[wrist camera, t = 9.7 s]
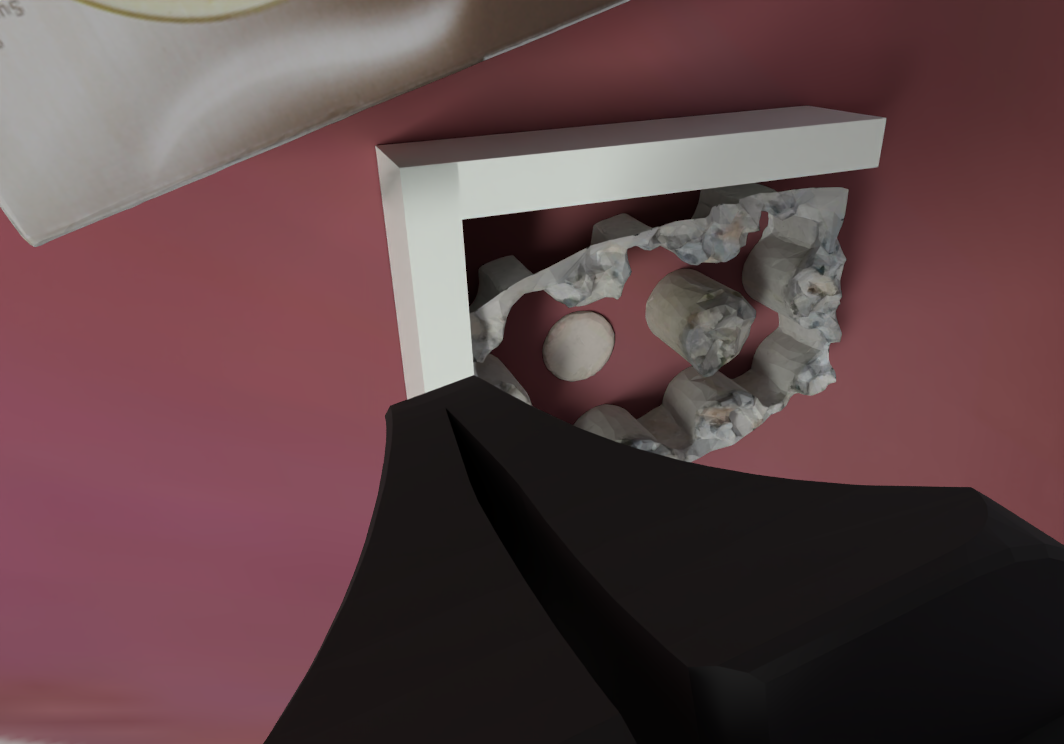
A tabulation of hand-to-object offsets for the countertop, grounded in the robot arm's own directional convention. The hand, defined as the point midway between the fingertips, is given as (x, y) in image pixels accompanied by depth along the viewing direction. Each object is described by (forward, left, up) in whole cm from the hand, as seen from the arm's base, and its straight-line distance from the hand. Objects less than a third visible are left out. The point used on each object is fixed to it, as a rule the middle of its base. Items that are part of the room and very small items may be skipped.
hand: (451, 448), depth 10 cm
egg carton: (-8, +3, -10) cm, 13 cm away
